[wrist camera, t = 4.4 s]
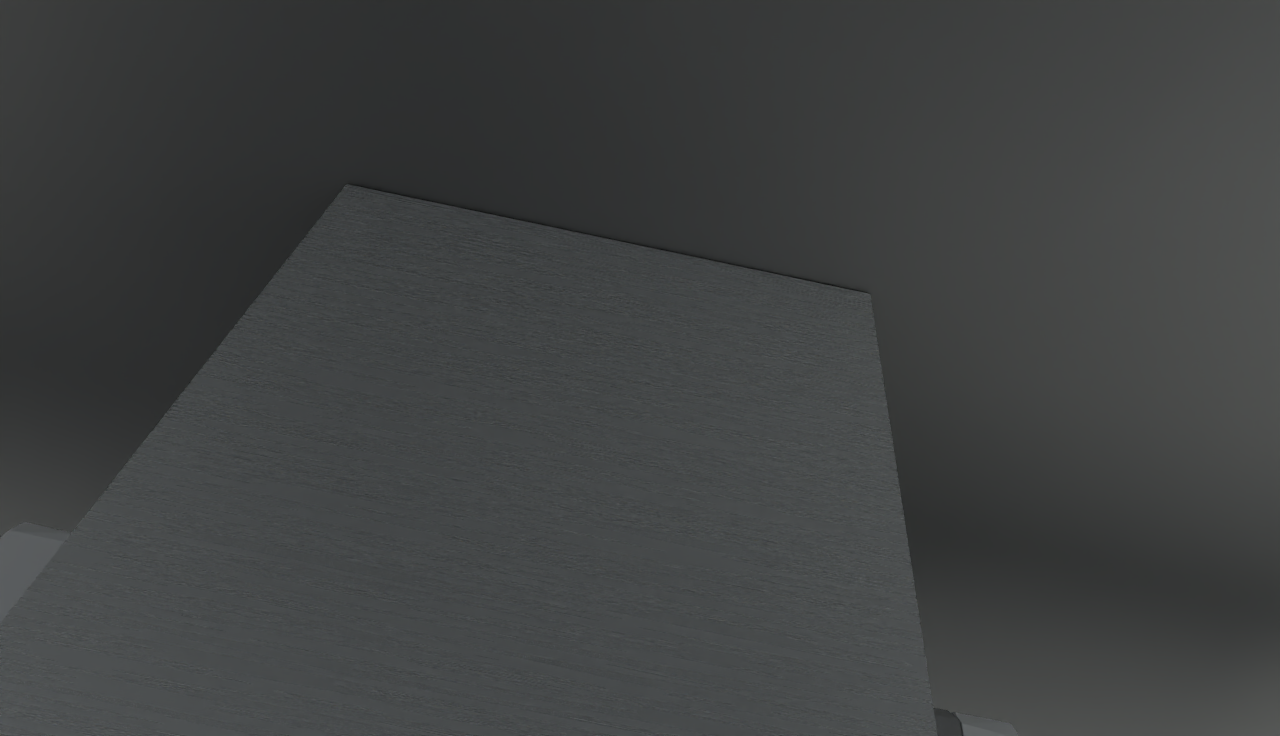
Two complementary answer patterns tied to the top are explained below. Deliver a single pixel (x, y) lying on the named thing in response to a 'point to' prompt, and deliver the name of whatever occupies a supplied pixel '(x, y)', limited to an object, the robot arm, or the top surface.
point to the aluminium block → (495, 507)
